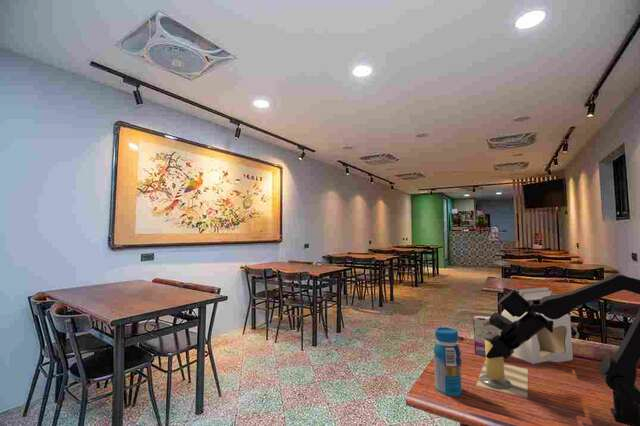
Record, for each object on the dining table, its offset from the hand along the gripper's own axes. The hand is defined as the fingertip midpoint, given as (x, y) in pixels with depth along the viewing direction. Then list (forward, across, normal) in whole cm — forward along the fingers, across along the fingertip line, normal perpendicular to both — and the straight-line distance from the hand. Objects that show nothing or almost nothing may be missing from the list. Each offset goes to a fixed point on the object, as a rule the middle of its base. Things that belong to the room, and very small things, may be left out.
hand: (490, 354), depth 106 cm
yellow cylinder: (+4, 0, +6) cm, 7 cm away
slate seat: (+5, 0, +7) cm, 9 cm away
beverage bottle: (+13, +15, +2) cm, 20 cm away
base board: (+6, -6, +8) cm, 12 cm away
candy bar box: (+13, -24, +2) cm, 28 cm away
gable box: (+4, -39, +11) cm, 40 cm away
